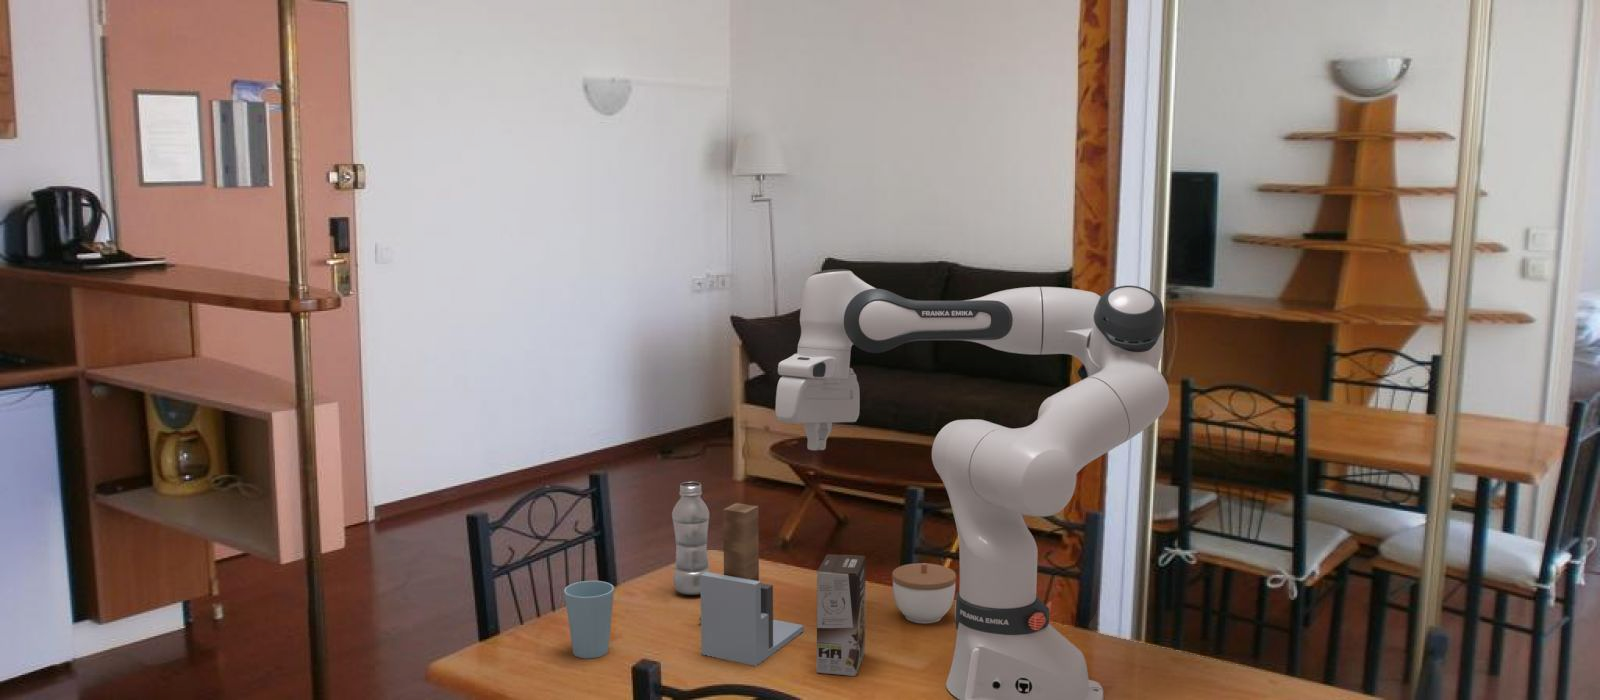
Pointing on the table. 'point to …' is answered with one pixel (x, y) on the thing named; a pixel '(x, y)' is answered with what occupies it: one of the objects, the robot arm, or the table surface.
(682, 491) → the plastic bottle
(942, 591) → the lidded jar
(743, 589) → the blue-grey stand
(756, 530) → the peg
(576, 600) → the cup
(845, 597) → the coffee box
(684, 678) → the table surface
